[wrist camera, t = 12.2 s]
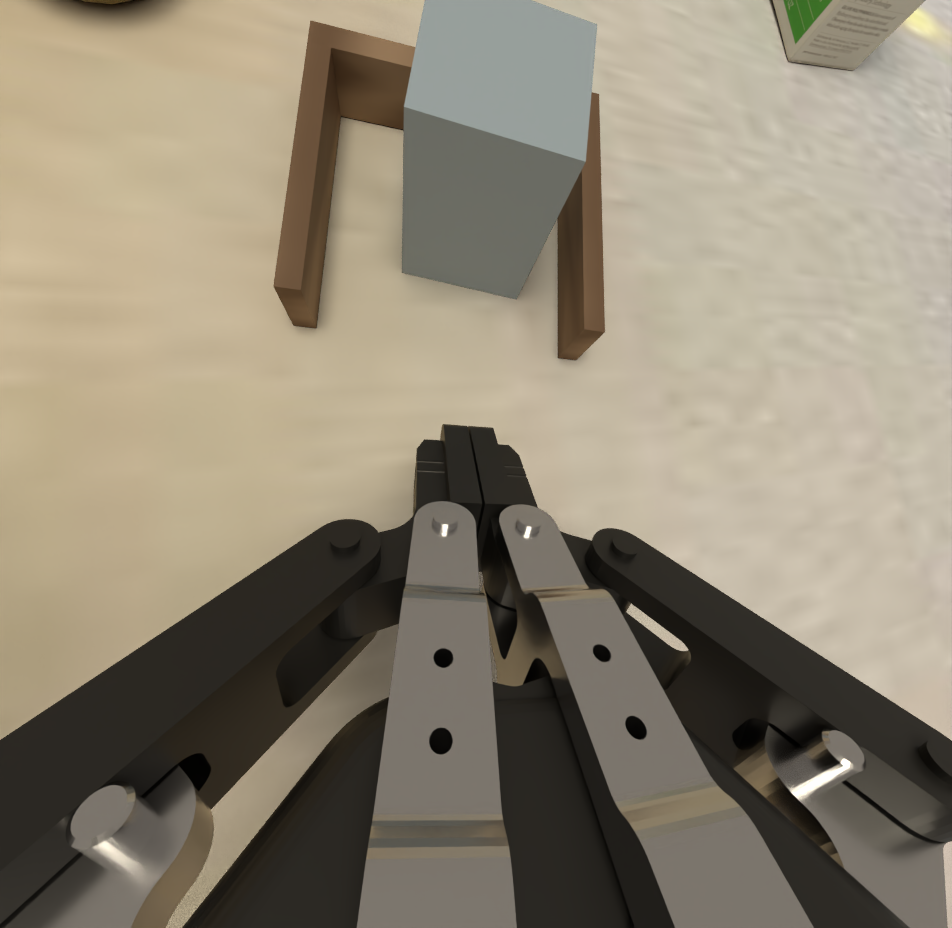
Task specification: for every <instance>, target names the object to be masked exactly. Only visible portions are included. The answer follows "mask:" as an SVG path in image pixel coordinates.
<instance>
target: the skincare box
mask: <svg viewBox="0 0 952 928" xmlns="http://www.w3.org/2000/svg"><path fill="white" fill-rule="evenodd" d="M924 1H925V0H773V4H774V7H775V11H776V15H777V19H778V22H779V26H780V30H781V34H782V38H783V42H784V46H785V50H786V55H787V58H788V61H790V62H797V63H804V64H812V65H819V66H825V67H832V68H839V69H846V70H854V69H856V68H857V67H858V66H859V65H860V64H861V63H862V62H863V61H864V60H865V59H866V58H867V57H868V56H869V55H870V54H871V53H872V52H873V51H874V50H875V49H876V48H877V47H878V46H879V45H880V44H881V43H882V42H883V41H884V40H885V39H886V38H887V37H888V36H889V35H890V34H892V33H893V32H894V31H895V30H896V29H897V28H898V27H899V26H900V25H901V24H902V23H903V22H904V21H905V20H906V19H907V18H908V17H909V16H910V15H911V14H912V13H913V12H914V11H915V10H916V9H917V8H918V7H919V6H920V5H921V4H922V3H923V2H924Z"/></svg>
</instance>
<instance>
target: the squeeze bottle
mask: <svg viewBox="0 0 952 928" xmlns="http://www.w3.org/2000/svg"><path fill="white" fill-rule="evenodd" d="M81 1H84V2H95V3H105V4H116V3H121V2H126V1H131V0H81Z"/></svg>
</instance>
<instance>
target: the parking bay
mask: <svg viewBox="0 0 952 928" xmlns="http://www.w3.org/2000/svg"><path fill="white" fill-rule="evenodd" d="M415 48H416V47H412V46H408V45H404V44H400V43H397V42H393V41H389V40H385V39H381V38H377V37H373V36H369V35H365V34H361V33H357V32H353V31H350V30H346V29H342V28H338V27H334V26H330V25H326V24H322V23H318V22H314V21H310V28H309V35H308V42H307V50H306V57H305V64H304V71H303V78H302V85H301V93H300V100H299V107H298V114H297V121H296V128H295V136H294V143H293V150H292V157H291V164H290V172H289V179H288V186H287V193H286V200H285V207H284V215H283V222H282V229H281V236H280V243H279V251H278V258H277V265H276V272H275V279H274V288H275V290H276V292H277V294H278V296H279V298H280V300H281V302H282V304H283V306H284V308H285V310H286V312H287V314H288V316H289V317H290V319H291V321H292V323H293V325H295V326H303V327H311V328H316V326H317V317H318V309H319V300H320V291H321V283H322V274H323V266H324V257H325V248H326V240H327V231H328V222H329V214H330V205H331V196H332V188H333V179H334V170H335V162H336V153H337V144H338V136H339V127H340V119H341V116H343V117H348V118H352V119H357V120H362V121H366V122H371V123H375V124H380V125H385V126H389V127H394V128H398V129H403V130H404V104H405V99H406V94H407V89H408V83H409V78H410V73H411V68H412V63H413V58H414V53H415ZM604 332H605V320H604V279H603V239H602V198H601V157H600V116H599V94H596V93H591V105H590V117H589V129H588V141H587V153H586V162H585V164H584V166H583V168H582V170H581V172H580V174H579V176H578V178H577V180H576V182H575V184H574V186H573V188H572V190H571V192H570V194H569V196H568V198H567V200H566V202H565V204H564V206H563V208H562V210H561V212H560V214H559V216H558V358H564V359H572V360H577V359H578V358H579V357H580V356H581V355H582V354H583V353H584V352H585V351H586V350H587V349H588V348H589V347H590V346H591V345H592V344H593V343H594V342H595V341H596V340H597V339H598V338H599V337H600V336H601V335H602V334H603V333H604Z"/></svg>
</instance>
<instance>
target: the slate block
mask: <svg viewBox="0 0 952 928" xmlns="http://www.w3.org/2000/svg"><path fill="white" fill-rule="evenodd" d="M596 33H597V24H595V23H592V22H589V21H586V20H584V19H581V18H578V17H575V16H573V15H570V14H567V13H565V12H562V11H559V10H556V9H554V8H551V7H548V6H545V5H543V4H540V3H537V2H535V1H532V0H425V2H424V8H423V13H422V18H421V23H420V28H419V33H418V38H417V43H416V48H415V53H414V58H413V63H412V68H411V73H410V78H409V83H408V89H407V94H406V99H405V104H404V141H403V226H402V273H405V274H409V275H414V276H418V277H422V278H426V279H431V280H435V281H439V282H444V283H448V284H452V285H457V286H461V287H465V288H469V289H474V290H478V291H482V292H487V293H491V294H495V295H499V296H504V297H508V298H512V299H517V297H518V295H519V293H520V291H521V289H522V287H523V285H524V283H525V281H526V279H527V277H528V275H529V273H530V271H531V269H532V267H533V265H534V263H535V261H536V259H537V257H538V255H539V253H540V251H541V250H542V248H543V246H544V244H545V242H546V240H547V238H548V236H549V234H550V232H551V230H552V228H553V226H554V224H555V222H556V220H557V218H558V216H559V214H560V212H561V210H562V208H563V206H564V204H565V202H566V200H567V198H568V196H569V194H570V192H571V190H572V188H573V186H574V184H575V182H576V180H577V178H578V176H579V174H580V172H581V170H582V168H583V166H584V164H585V162H586V153H587V141H588V129H589V117H590V105H591V93H592V81H593V69H594V57H595V45H596Z"/></svg>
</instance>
